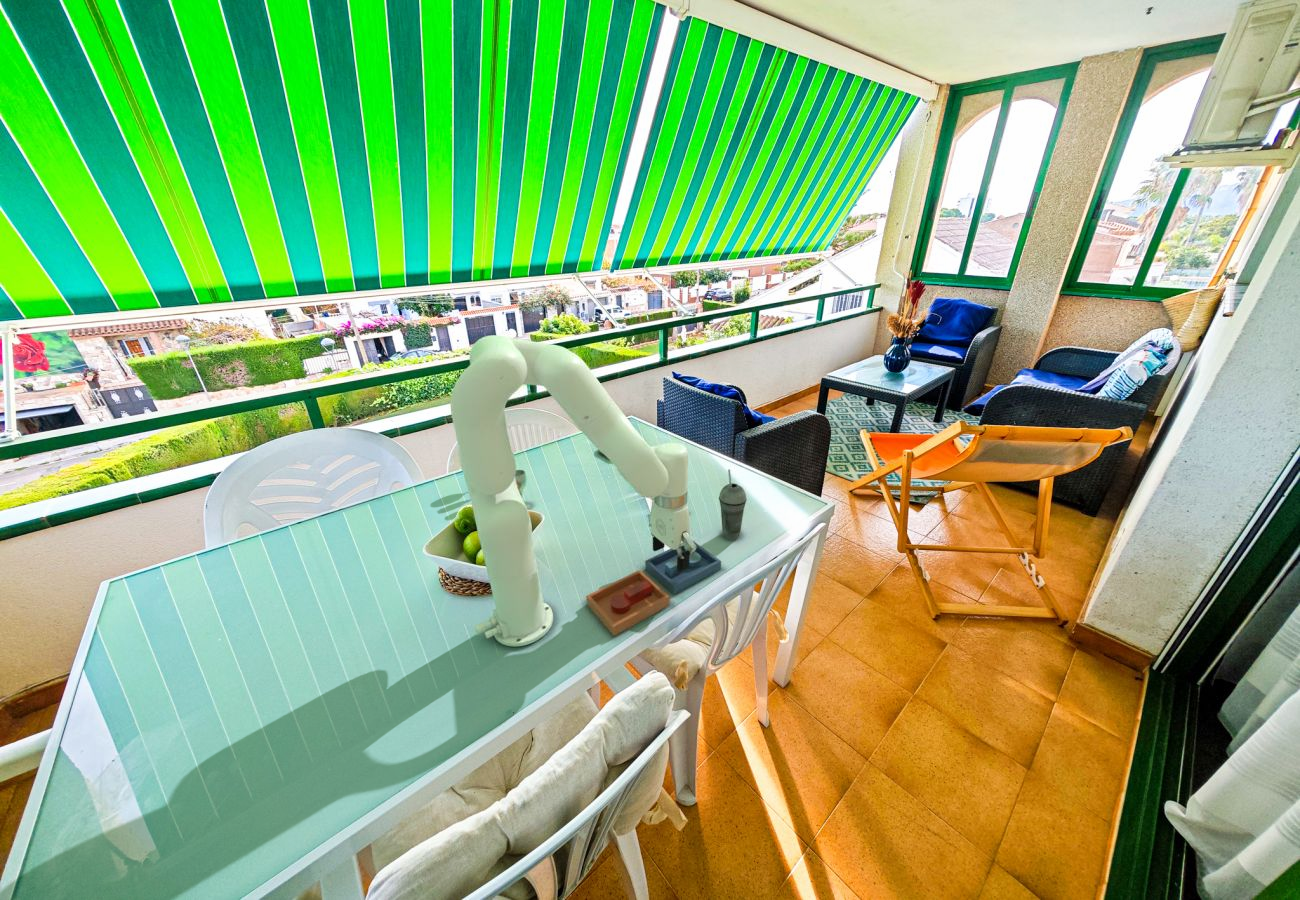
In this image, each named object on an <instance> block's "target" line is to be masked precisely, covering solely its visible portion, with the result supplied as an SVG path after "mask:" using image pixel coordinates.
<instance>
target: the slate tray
mask: <svg viewBox="0 0 1300 900" xmlns="http://www.w3.org/2000/svg"><path fill="white" fill-rule="evenodd" d="M692 541H693V542H694V544H695V545H696V547H697V548H696V550H695V551H694V552H696V553H698V554H700V556H701V564H700V566H699V567H697V568H688V569H686V570H684V571H682V572H680V573H678V574H676V575H674V576H673V577H671V578H670V577H669V576H668V575H667V574H666V573H665V564H666V563H668V562H670V561H672V560H674V559H676V558H677V557H679V555H678V552H677V550H673V549H671V548H668V549H667V550H665V551H663V552H661V553H658V554H656V555H654V556H652V557H650V558H648V559H646V560H644V564H645V565H644V566H645V567H644V568H645V570H646V571H647V572H648V573H649V574H651V575H652V576H653V577H654V578H655V579H656V581H658V582H660V583H661V584H662V585H663V586H664V587H665V588H666V589H667V590H669V591H670V593H672V594H673V595H676V594H678V593H680V592H682V591H684V590H685V589H687V588H689V587H691V586H693V585H695V584H696V583H698V582H700V581H702V580H704V579H705V578H707V577H709V576H711V575H713V574H715V573H716V572H719V571H720V570H722V560H720V559H719V558H718V557H716V556H715V555H714V554H712V553H711V552H709V551H708V550H707V549H705V548H704V547H702V546H701V545H700V544H698V543H697V542H695V541H694V540H692ZM680 548H681V550H682V552H685V551H686V550H685V548H684V546H682V547H680Z"/></svg>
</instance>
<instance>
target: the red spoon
mask: <svg viewBox="0 0 1300 900" xmlns="http://www.w3.org/2000/svg"><path fill="white" fill-rule="evenodd" d="M651 595H652V589H651V585H650V584H649V583H648V582H647V581H644V582H642V583H640V584H638V585H636V586H634V587H632V588H630V589H628V590H626V591H624V594H618V595H615V596H614V597H612V599H611V601H610V604H611V610H612V612H613V613H615V614H625V613H627V612H628V611H629V610H630V608H631V606H632V605H634V604H636V603H638V602H639V601H641V600H643V599H645V598H647V597H649V596H651Z"/></svg>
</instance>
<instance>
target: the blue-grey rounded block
mask: <svg viewBox="0 0 1300 900" xmlns="http://www.w3.org/2000/svg"><path fill="white" fill-rule="evenodd" d="M700 564H701V556H700V554H698V553H696V552H694V554H692V555H690V558H689V568H697V567H699V566H700ZM687 569H688V568H687ZM685 570H686V569H685ZM683 571H684V570H683ZM681 572H682V571H681ZM665 573H666V574H667V575H668V576H669V577H670V578H671V577H673V576H674V575H676V574H678V573H680V572H678V571H677V558H676V559H674V560H672V561H670V562H668V563H666V564H665Z"/></svg>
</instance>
